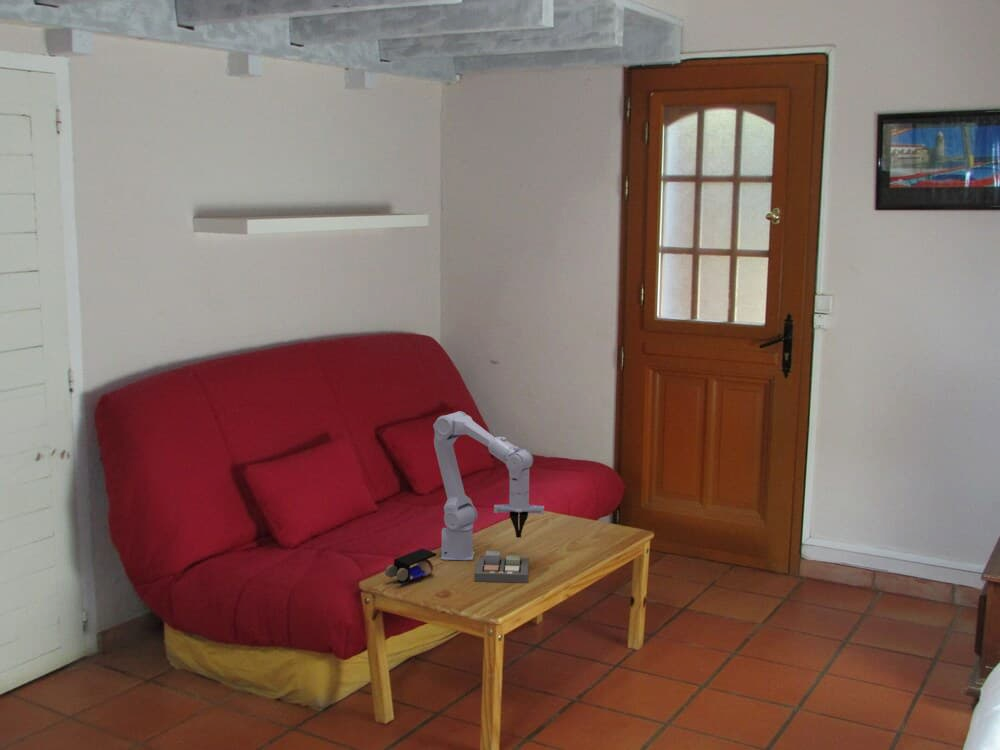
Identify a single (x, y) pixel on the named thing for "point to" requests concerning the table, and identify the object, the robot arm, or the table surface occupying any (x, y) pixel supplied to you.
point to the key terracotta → (491, 568)
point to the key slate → (492, 558)
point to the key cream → (511, 568)
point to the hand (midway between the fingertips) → (518, 536)
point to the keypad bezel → (502, 572)
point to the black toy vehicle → (404, 562)
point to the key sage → (513, 560)
